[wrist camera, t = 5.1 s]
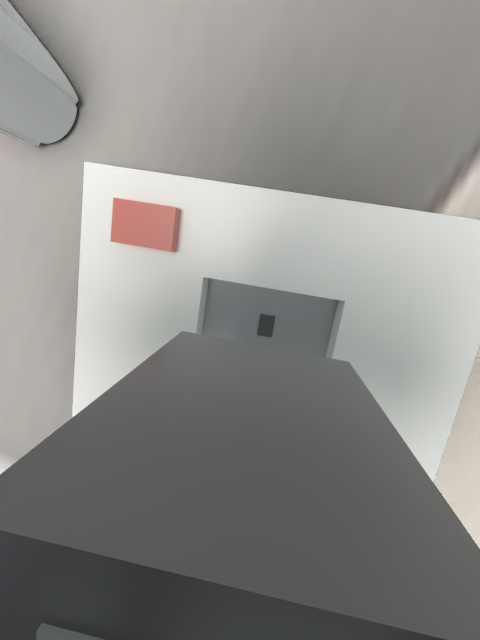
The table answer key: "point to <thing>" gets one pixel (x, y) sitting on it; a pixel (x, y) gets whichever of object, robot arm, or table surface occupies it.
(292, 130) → the table surface
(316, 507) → the plug
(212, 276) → the socket plate
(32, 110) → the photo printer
